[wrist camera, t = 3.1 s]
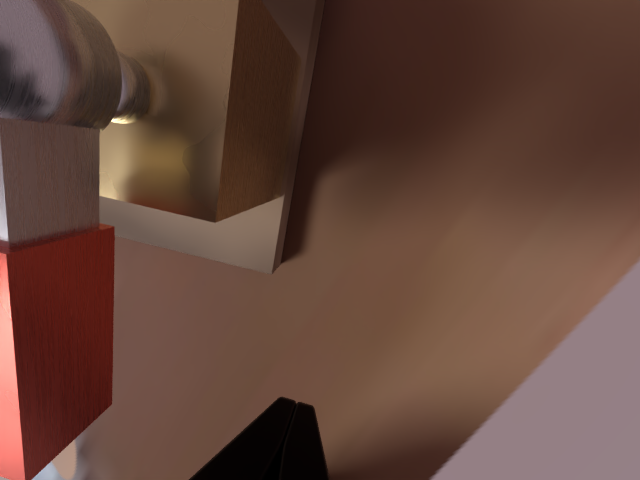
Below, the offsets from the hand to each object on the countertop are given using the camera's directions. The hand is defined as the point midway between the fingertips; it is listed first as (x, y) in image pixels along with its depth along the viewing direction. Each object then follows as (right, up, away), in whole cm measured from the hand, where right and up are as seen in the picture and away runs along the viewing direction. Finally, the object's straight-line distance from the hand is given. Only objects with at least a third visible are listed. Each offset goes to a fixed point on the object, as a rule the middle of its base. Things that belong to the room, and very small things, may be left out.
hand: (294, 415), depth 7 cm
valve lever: (-5, +4, 0) cm, 7 cm away
